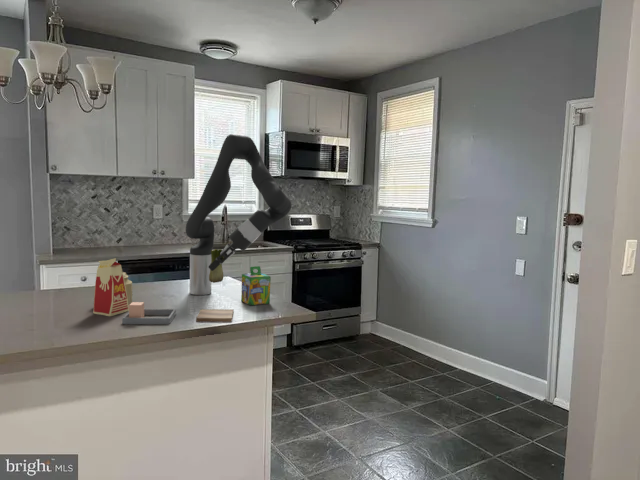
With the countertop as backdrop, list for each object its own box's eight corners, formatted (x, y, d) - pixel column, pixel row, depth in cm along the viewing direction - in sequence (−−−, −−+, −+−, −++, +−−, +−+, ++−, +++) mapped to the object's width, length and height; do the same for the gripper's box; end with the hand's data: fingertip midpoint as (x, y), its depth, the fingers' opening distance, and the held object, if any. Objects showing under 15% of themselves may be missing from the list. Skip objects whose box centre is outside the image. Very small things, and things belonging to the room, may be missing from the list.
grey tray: (132, 314, 168) (132, 308, 167) (175, 314, 170) (175, 309, 169) (122, 323, 156) (122, 318, 156) (169, 324, 158) (169, 318, 158)
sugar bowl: (97, 299, 186) (97, 262, 185) (127, 297, 192) (127, 261, 191) (103, 308, 174) (103, 268, 172) (135, 305, 180) (134, 267, 178)
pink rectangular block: (132, 319, 162) (132, 302, 161) (144, 319, 162) (144, 302, 162) (129, 322, 158) (128, 305, 157) (141, 322, 159) (141, 305, 158)
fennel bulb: (220, 280, 171) (220, 247, 169) (227, 282, 167) (227, 249, 166) (205, 281, 167) (205, 248, 166) (212, 284, 163) (212, 250, 162)
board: (200, 312, 174) (200, 309, 174) (233, 312, 175) (233, 309, 175) (196, 321, 162) (196, 318, 162) (231, 321, 163) (231, 318, 163)
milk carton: (129, 310, 172) (129, 257, 170) (110, 316, 164) (110, 260, 162) (109, 307, 175) (109, 254, 173) (90, 313, 167) (89, 258, 165)
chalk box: (249, 306, 186) (250, 269, 184) (240, 301, 193) (241, 265, 192) (270, 303, 191) (271, 268, 189) (260, 299, 198) (261, 264, 197)
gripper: (239, 225, 173) (205, 257, 173) (237, 228, 159) (200, 263, 159) (253, 240, 174) (220, 271, 174) (252, 244, 160) (216, 278, 160)
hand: (211, 267), depth 166 cm, fingers closed on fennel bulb, 5 cm apart
